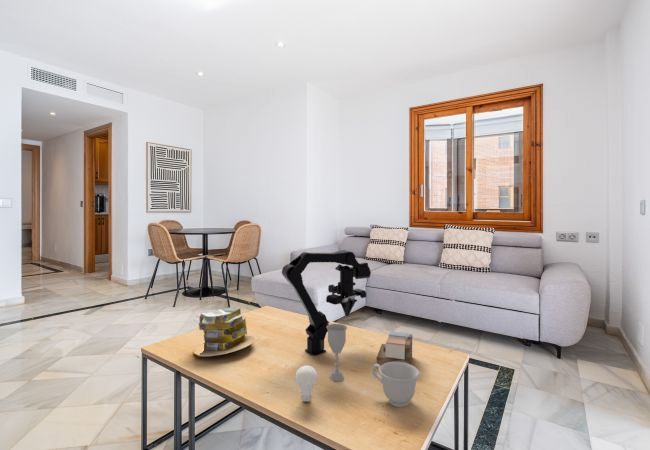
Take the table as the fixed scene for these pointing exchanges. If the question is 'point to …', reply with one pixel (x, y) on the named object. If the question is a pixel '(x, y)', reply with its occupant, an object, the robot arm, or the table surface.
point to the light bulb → (306, 381)
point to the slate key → (398, 335)
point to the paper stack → (224, 332)
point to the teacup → (397, 381)
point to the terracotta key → (395, 348)
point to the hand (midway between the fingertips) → (346, 316)
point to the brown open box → (408, 358)
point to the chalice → (336, 346)
